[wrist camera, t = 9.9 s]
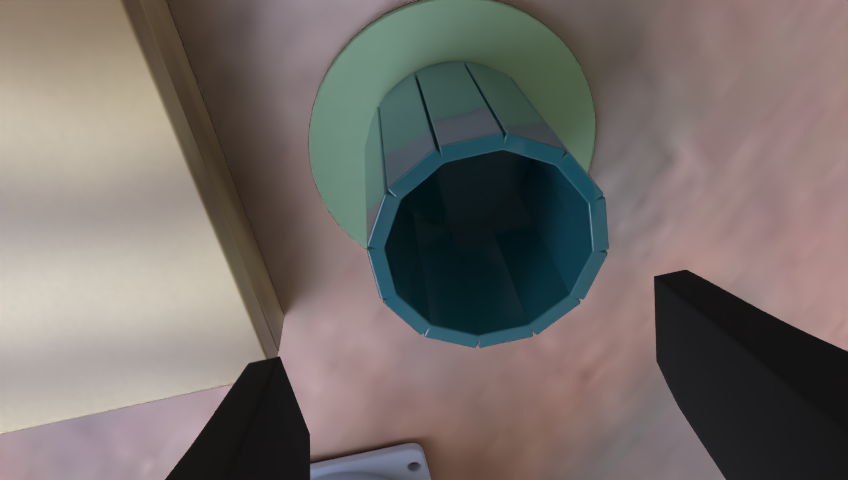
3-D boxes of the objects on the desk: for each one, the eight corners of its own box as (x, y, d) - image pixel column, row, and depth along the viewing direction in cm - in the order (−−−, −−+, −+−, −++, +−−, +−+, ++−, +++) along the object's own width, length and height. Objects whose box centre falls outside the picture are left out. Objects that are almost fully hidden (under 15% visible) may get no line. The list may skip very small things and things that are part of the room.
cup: (547, 205, 22) (614, 320, 16) (388, 240, 22) (399, 366, 16) (528, 42, 19) (600, 110, 14) (347, 83, 19) (343, 167, 14)
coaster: (601, 235, 23) (604, 241, 23) (350, 290, 23) (349, 297, 23) (580, -36, 19) (584, -35, 18) (271, 33, 19) (269, 36, 19)
